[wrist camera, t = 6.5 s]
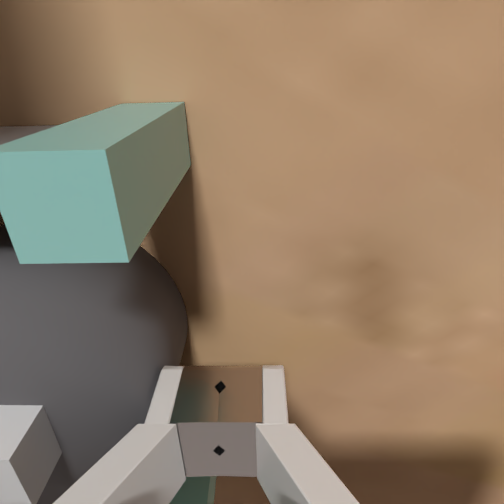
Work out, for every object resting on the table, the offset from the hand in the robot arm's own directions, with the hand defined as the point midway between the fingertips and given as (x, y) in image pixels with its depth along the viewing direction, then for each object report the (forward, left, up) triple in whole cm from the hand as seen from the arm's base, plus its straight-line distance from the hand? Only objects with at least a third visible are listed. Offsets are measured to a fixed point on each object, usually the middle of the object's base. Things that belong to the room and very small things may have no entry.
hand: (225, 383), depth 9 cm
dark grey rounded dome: (+5, 0, -3) cm, 6 cm away
